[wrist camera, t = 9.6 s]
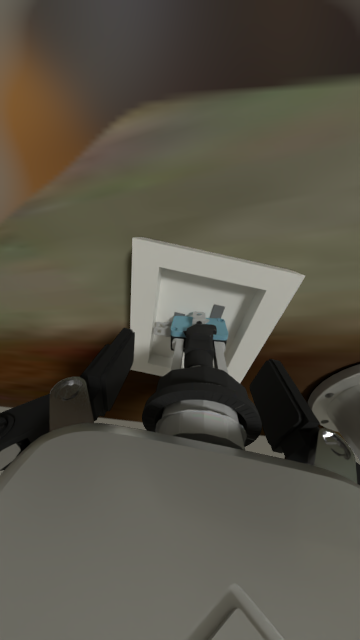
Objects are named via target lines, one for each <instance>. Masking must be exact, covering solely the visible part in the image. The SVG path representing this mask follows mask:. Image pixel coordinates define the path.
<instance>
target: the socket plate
mask: <svg viewBox="0 0 360 640" xmlns="http://www.w3.org/2000/svg"><path fill="white" fill-rule="evenodd" d="M304 278H305V275H302V274H300V273H297V272H295V271H292V270H289V269H285V268H281V267H276V266H271V265H267V264H262V263H258V262H253V261H249V260H244V259H240V258H235V257H231V256H226V255H222V254H217V253H213V252H208V251H203V250H199V249H194V248H190V247H185V246H181V245H176V244H172V243H167V242H163V241H158V240H154V239H149V238H145V237H136V238H133V240H132V277H131V315H130V329H132V330H133V332H135V344H134V361H133V364H132V367H131V369H130V370H135V371H139V372H144V373H149V374H154V375H159V376H164V375H166V374H167V373H169V372H170V371H171V366H172V361H173V355H174V351H172V350H171V337H166V336H165V335H155V334H154V329H153V328H154V327H156V322H165V323H167V321H170V322H173V318H174V316H189V317H193V312H195V311H196V312H204V313H205V317H206V318H221V319H224V320H225V324H226V327H227V330H228V338H227V343H226V348H225V352H224V357H225V361H226V366H227V370H228V374H229V375H230V376H231V377H233V378H234V379H235V380H236V381H237V382H239V383H241V381H242V379H243V378H244V376H245V374H246V373H247V371H248V369H249V368H250V366H251V365H252V363H253V361H254V360H255V358H256V356H257V355H258V353H259V351H260V350H261V348H262V346H263V345H264V343H265V342H266V340H267V338H268V337H269V335H270V333H271V332H272V330H273V328H274V327H275V325H276V324H277V322H278V320H279V319H280V317H281V315H282V314H283V312H284V310H285V309H286V307H287V305H288V304H289V302H290V301H291V299H292V297H293V296H294V294H295V292H296V291H297V289H298V287H299V286H300V284H301V283H302V281H303V279H304ZM196 315H198V316H201V314H196ZM159 326H160V327H161V328H162V327H163V325H162V324H160V325H159ZM157 332H158V333H161V330H157ZM184 355H185V353H184V352H183V357H182V365H181V369H182V368H184ZM213 368H215V367H214V359H213Z"/></svg>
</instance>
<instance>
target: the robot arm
mask: <svg viewBox="0 0 360 640" xmlns="http://www.w3.org/2000/svg"><path fill="white" fill-rule="evenodd" d="M134 344H135V332H133V330H132V329H127V328H123V329H122V331H121V332H120V333H119V335H118V336H117V337H116V338H115V340H114V341H113V342H112V344H111V345H109V344H107V345H105V346H104V348H103V349H102V350H101V351H100V352H99V354H98V355H97V356H96V357H95V359H94V360H93V361H92V362H91V364H90V365H89V366H88V367H87V368H86V370H85V371H84V372H83V373H82V375H81V376H80V377H69V378H66V379H64V380H62V381H60V382H59V383H57V384H56V385H55V386H54V387H53V388H52V390H51V392H50V394H48V395H45V396H43V397H40V398H38V399H35V400H32V401H30V402H27V403H25V404H22V405H20V406H17V407H14V408H12V409H9V410H7V411H5V412H2V413H0V471H2V470H4V471H3V473H2V474H1V475H0V640H360V465H359V464H358V463H357V462H356V461H355V456H354V453H355V455H356V456H357V457H358V459H359V460H360V364H358V365H355V366H352V367H350V368H347V369H344V370H342V371H340V372H338V373H336V374H334V375H332V376H330V377H329V378H327V379H326V380H324V381H323V382H322V383H321V384H319V385H318V386H317V387H316V388H315V389H314V391H313V392H312V393H311V395H310V397H309V400H308V404H307V402H306V401H305V399H304V398H303V396H302V394H301V393H300V391H299V390H298V388H297V387H296V385H295V384H294V382H293V381H292V379H291V377H290V376H289V374H288V373H287V371H286V370H285V368H284V367H283V365H282V364H281V362H280V361H277V360H272V359H269V360H268V361H266V362H265V363H264V365H263V366H262V368H261V369H260V371H259V372H258V374H257V375H256V377H255V378H254V380H253V381H252V383H251V384H250V391H251V394H252V397H253V400H254V403H255V406H256V408H257V410H258V413H259V416H260V419H261V422H262V426H263V429H264V432H265V435H266V438H267V440H268V443H269V444H270V445H271V448H272V450H273V451H274V452H278V453H284V455H285V459H282V458H277V457H273V456H268V455H263V454H259V453H254V452H249V451H245V450H240V449H235V448H230V447H225V446H220V445H216V444H211V443H206V442H201V441H196V440H191V439H186V438H181V437H176V436H171V435H166V434H161V433H156V432H151V431H146V430H141V429H135V428H129V427H124V426H118V425H110V424H102V423H94V421H95V420H97V418H98V416H103V417H104V415H105V413H106V411H110V410H111V408H112V406H113V404H114V401H115V399H116V397H117V395H118V393H119V391H120V389H121V387H122V385H123V383H124V381H125V379H126V377H127V375H128V373H129V371H130V369H131V367H132V364H133V361H134ZM319 424H320V425H322V426H323V427H325V428H322V429H319V427H318V425H319ZM326 428H328V429H326ZM329 429H331V430H334V431H339V432H340V434H341V435H342V437H343V438H344V439H345V441H346V442H347V443H346V442H345V441H344V440H343V439H342V438H341V437H340V436H339V435H337V434H336V433H334V432H333V431H331V430H329ZM349 446H350V447H349ZM351 449H352V450H351ZM353 452H354V453H353Z"/></svg>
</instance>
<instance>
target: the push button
mask: <svg viewBox="0 0 360 640" xmlns="http://www.w3.org/2000/svg"><path fill="white" fill-rule="evenodd" d="M196 314H201V316H198V315H196ZM160 324H162V325H163V327H162V328H161V327H160V326H159V325H160ZM153 329H154V334H155V335H165V336H166V337H171V350H172V351H174V355H173V361H172V366H171V371H170V372H169V373H167V374H166V375H164V376H163V377H161V378H160V379H159V382H158V385H157V389H156V393H154V394H153V395H152V396H151V397H150V398H149V399H148V400H147V402H146V404H145V407H144V411H143V414H142V421H143V425H144V427H145V428H146V430H147V431H151V432H156V433H161V434H166V435H171V436H176V437H181V438H186V439H191V440H196V441H201V442H206V443H211V444H216V445H220V446H225V447H230V448H235V449H240V450H245V446H247V445H249V444H251V443H252V442H254V441H255V440H256V439H257V438H258V436H259V435H260V433H261V430H262V422H261V419H260V416H259V413H258V410H257V408H256V407H255V405H254V404H253V403H252V402H251V401H250V400H249V399H248V395H247V392H246V389H245V388H244V387H243V386H242V385H241V384H240V383H239V382H237V381H236V380H235V379H234V378H233V377H231V376H230V375H229V374H228V370H227V366H226V361H225V357H224V352H225V348H226V343H227V338H228V330H227V327H226V324H225V320H224V319H221V318H206V317H205V313H204V312H196V311H195V312H193V317H189V316H174V318H173V322H170V321H167V323H165V322H156V327H154V328H153ZM157 330H161V333H158V332H157ZM183 352H184V353H185V355H184V368H182V369H181V365H182V357H183ZM213 359H214V367H215V368H213Z"/></svg>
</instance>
